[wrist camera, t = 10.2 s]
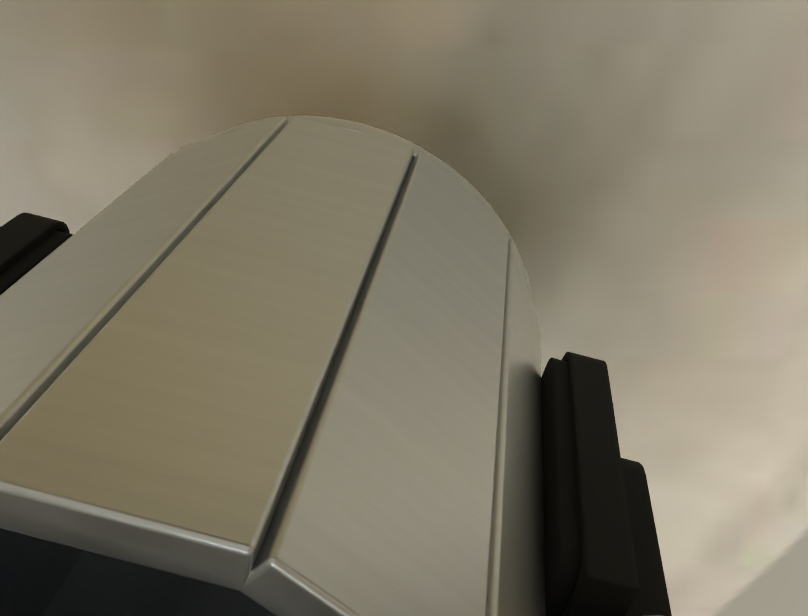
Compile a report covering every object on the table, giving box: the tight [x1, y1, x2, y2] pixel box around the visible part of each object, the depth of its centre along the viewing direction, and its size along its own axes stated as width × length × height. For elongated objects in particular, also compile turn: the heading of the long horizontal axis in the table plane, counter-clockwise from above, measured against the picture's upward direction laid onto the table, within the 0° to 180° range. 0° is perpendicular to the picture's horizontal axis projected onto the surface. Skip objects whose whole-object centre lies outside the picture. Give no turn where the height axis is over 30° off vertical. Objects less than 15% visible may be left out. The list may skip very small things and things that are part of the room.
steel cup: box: [0, 115, 546, 616], centre depth 9 cm, size 7×7×8 cm
